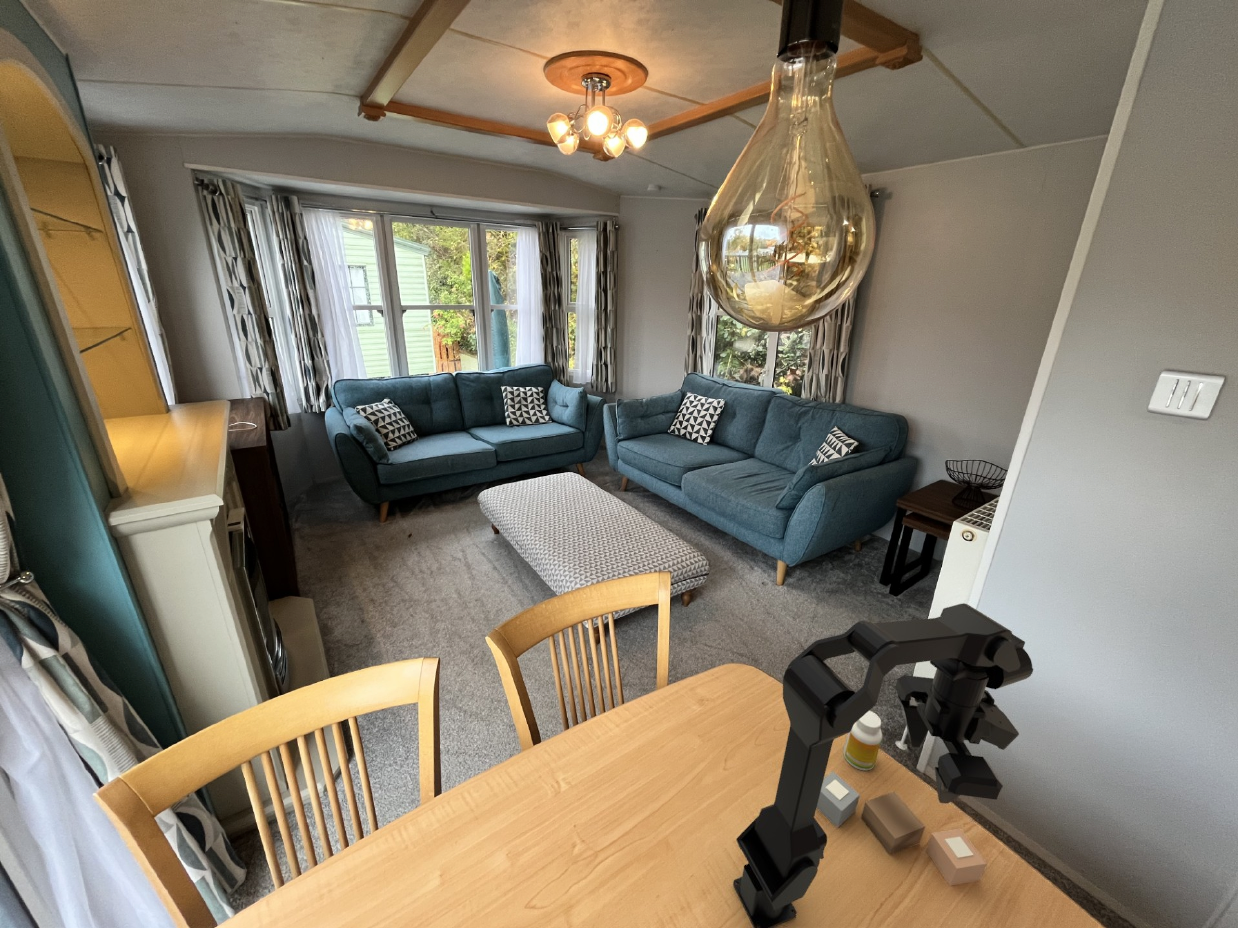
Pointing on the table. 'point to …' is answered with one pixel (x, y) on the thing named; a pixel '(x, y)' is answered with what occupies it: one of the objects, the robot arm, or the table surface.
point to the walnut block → (892, 822)
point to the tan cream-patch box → (955, 857)
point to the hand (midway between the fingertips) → (928, 772)
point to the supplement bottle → (864, 742)
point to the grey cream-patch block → (837, 799)
